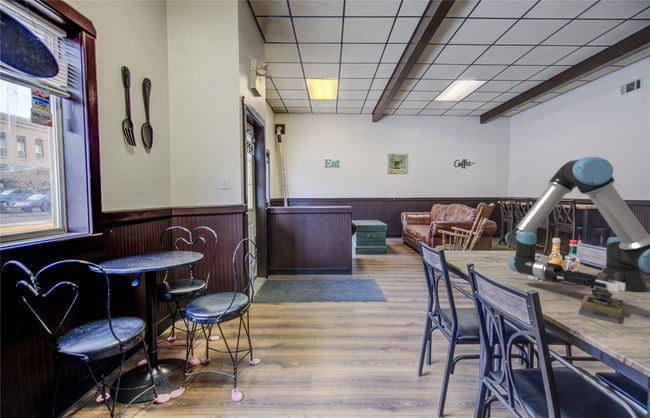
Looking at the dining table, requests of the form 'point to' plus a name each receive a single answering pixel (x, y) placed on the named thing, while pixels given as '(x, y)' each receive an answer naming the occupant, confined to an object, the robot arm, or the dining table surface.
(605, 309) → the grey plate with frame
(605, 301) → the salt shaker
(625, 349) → the dining table surface
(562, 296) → the dining table surface
